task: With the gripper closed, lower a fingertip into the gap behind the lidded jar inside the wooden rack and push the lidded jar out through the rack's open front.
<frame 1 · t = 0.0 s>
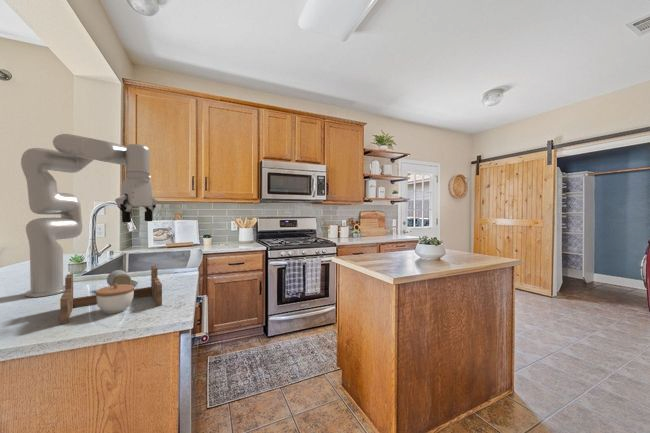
hand: (138, 221, 102), 31 cm above the table, tool pointing down, fingers open, 9 cm apart
wooden rack: (115, 306, 97), on the table
ceramic mug: (123, 287, 120), on the table
lidded jar: (115, 310, 93), on the table
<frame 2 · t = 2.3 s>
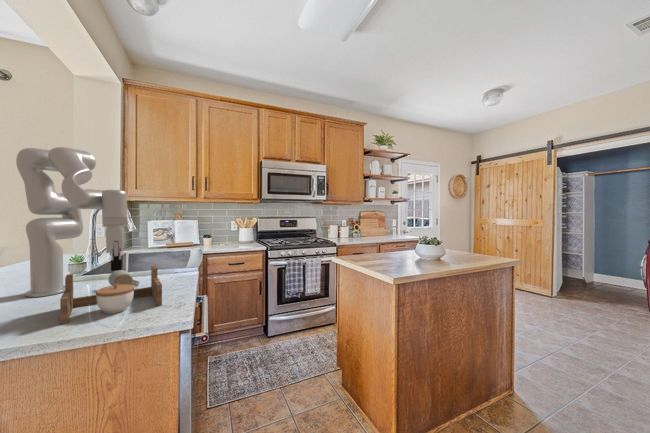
hand: (116, 270, 100), 13 cm above the table, tool pointing down, fingers closed
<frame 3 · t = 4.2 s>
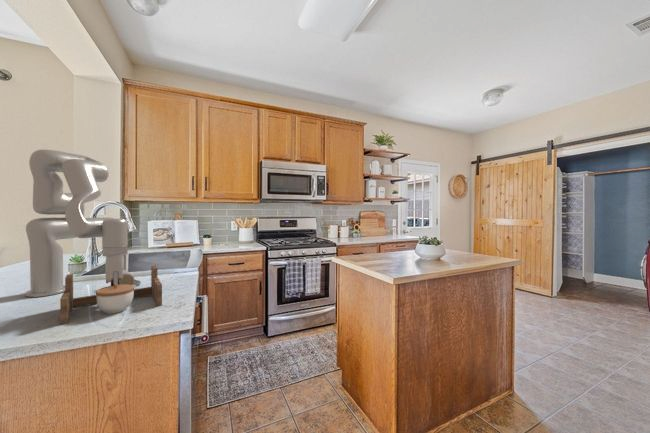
hand: (115, 298, 100), 2 cm above the table, tool pointing down, fingers closed
lidded jar: (115, 310, 93), on the table, touching gripper
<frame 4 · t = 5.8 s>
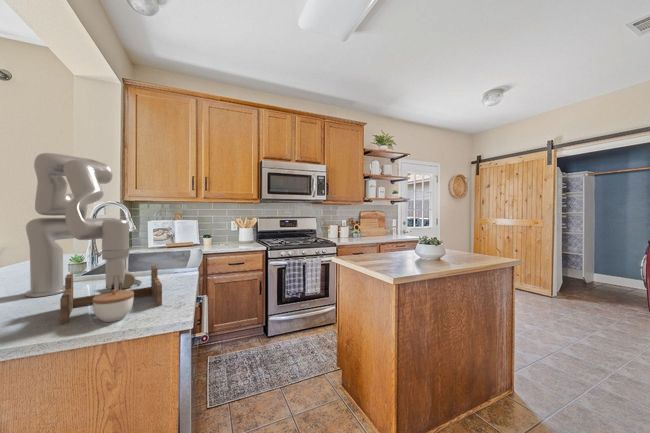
hand: (116, 304, 94), 2 cm above the table, tool pointing down, fingers closed
lidded jar: (114, 318, 87), on the table, touching gripper
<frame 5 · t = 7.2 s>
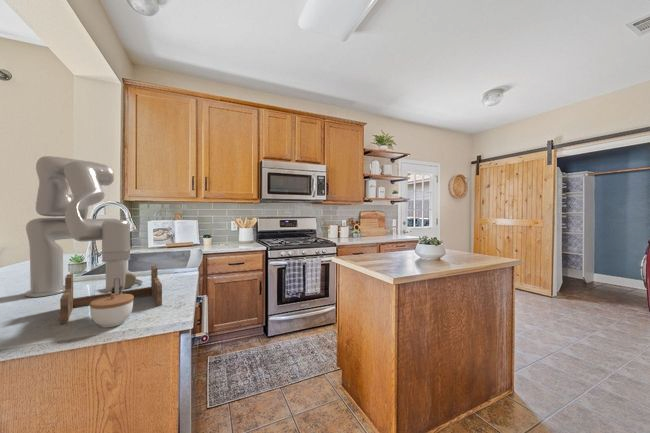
hand: (116, 308, 90), 2 cm above the table, tool pointing down, fingers closed
lidded jar: (112, 323, 83), on the table, touching gripper
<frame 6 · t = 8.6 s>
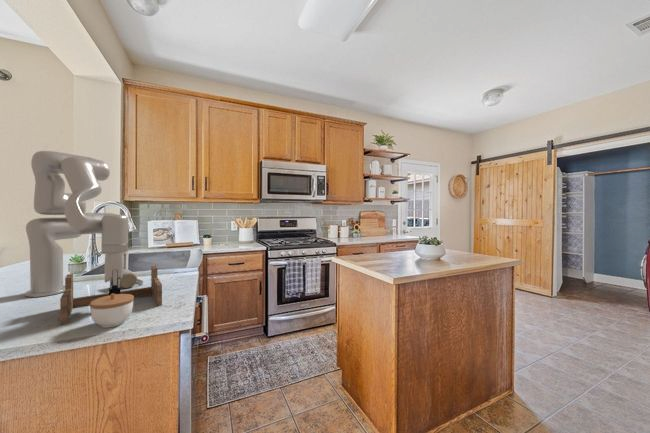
hand: (114, 298, 95), 3 cm above the table, tool pointing down, fingers closed
lidded jar: (112, 324, 83), on the table
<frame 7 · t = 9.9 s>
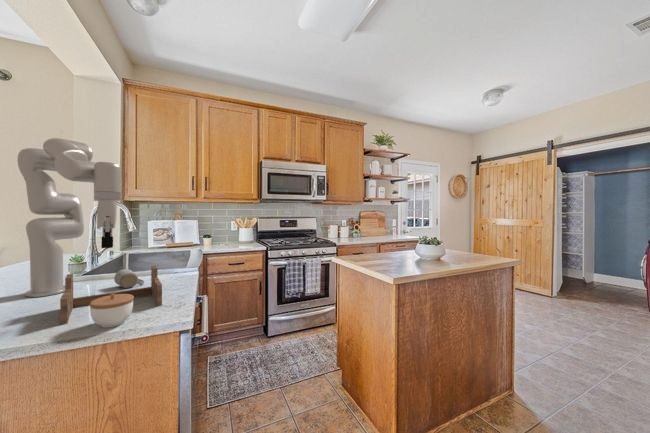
hand: (107, 247, 95), 22 cm above the table, tool pointing down, fingers closed
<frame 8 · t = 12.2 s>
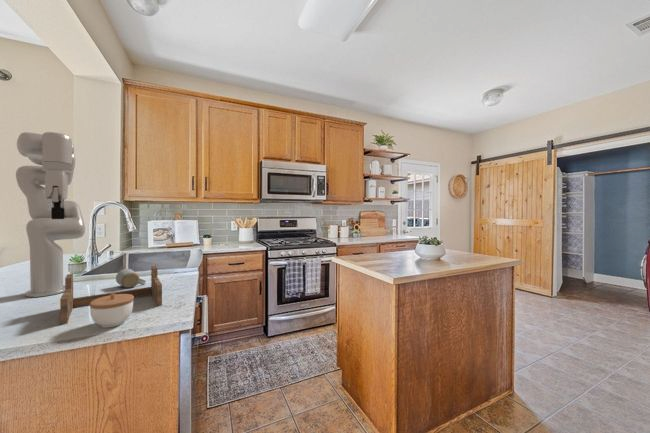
hand: (58, 218, 95), 32 cm above the table, tool pointing down, fingers closed
at the end: lidded jar inside the target area (1.0 cm from its centre), on the table; lidded jar tilted 0° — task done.
